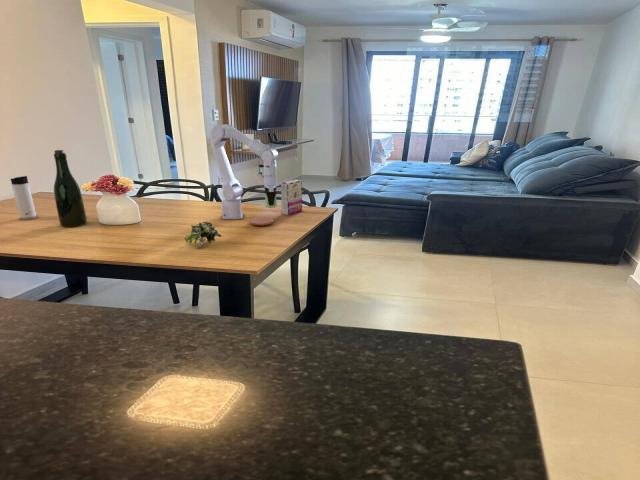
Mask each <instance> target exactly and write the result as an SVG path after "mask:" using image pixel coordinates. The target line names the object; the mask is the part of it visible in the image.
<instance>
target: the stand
mask: <svg viewBox="0 0 640 480" xmlns="http://www.w3.org/2000/svg"><path fill="white" fill-rule="evenodd" d="M248 222H249V224H250V225H254V226H259V227H260V226H262V227H265V226H267V225H271V224H273V223H274V219H273V218H272V217H267V216H255V217H253V218H250V219H249V221H248Z"/></svg>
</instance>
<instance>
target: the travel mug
mask: <svg viewBox="0 0 640 480" xmlns="http://www.w3.org/2000/svg"><path fill="white" fill-rule="evenodd" d="M10 182H11V188H12V192H13V195H14V200H15V204H16V208H17V212H18V215H19V219H20V220H21V221H28V220H35V219H36V218H37V217H38V216H37V213H36V208H35V204H34V200H33V196H32V192H31V187H30V184H29V180H28V176H27V175H24V176H16V177H13V178H10Z"/></svg>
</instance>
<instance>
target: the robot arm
mask: <svg viewBox="0 0 640 480" xmlns="http://www.w3.org/2000/svg"><path fill="white" fill-rule="evenodd" d="M209 134H210V148H211V150H212V154H213V156H214V159H215V161H216V165H217V168H218V170H219V173H220V176H221V179H222V181H223V182H222V184H221V188H222V196H223V198H224V199H221V216H222V220H242V219H243V218H244V213H243V212H242V211H243V209H242V195H243V194H244V188H243V187H242V186H241V184H240V183H239V181H238V180H237V179H236V178H235V176H234V172H233V170H232V167H231V163H230V162H229V159H228V156H227V153H226V150H225V145H226V143H227V141H229V140H230V139H234V140H236V141H238V142H240V143H241V144H243V145H245V146H247V147H248V150H249V151H250V152H252V153H253V154H255V155H256V156H258V157H260V158H261V160H262V161H263V187H264V188H263V189H264V193H265V194H266V195H267V198H268V203H269V205H274V200H275V195H276V196H277V193H278V190H277V187H280V184H279V183H277V159H278V156H279V153H278V151H277V149H275V148H274V147H270V146H269V145H268V144H264V143H263V142H261V140H260V139H259V138H258V139H252V138H249V137H248V136H247V135H245V134H244V133H242V132H241V131H240V130H238V129H237V128H235V126H231V125H230V124H228V123H224V124H214V125H213V126H212V127H211V129H210V131H209Z"/></svg>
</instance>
